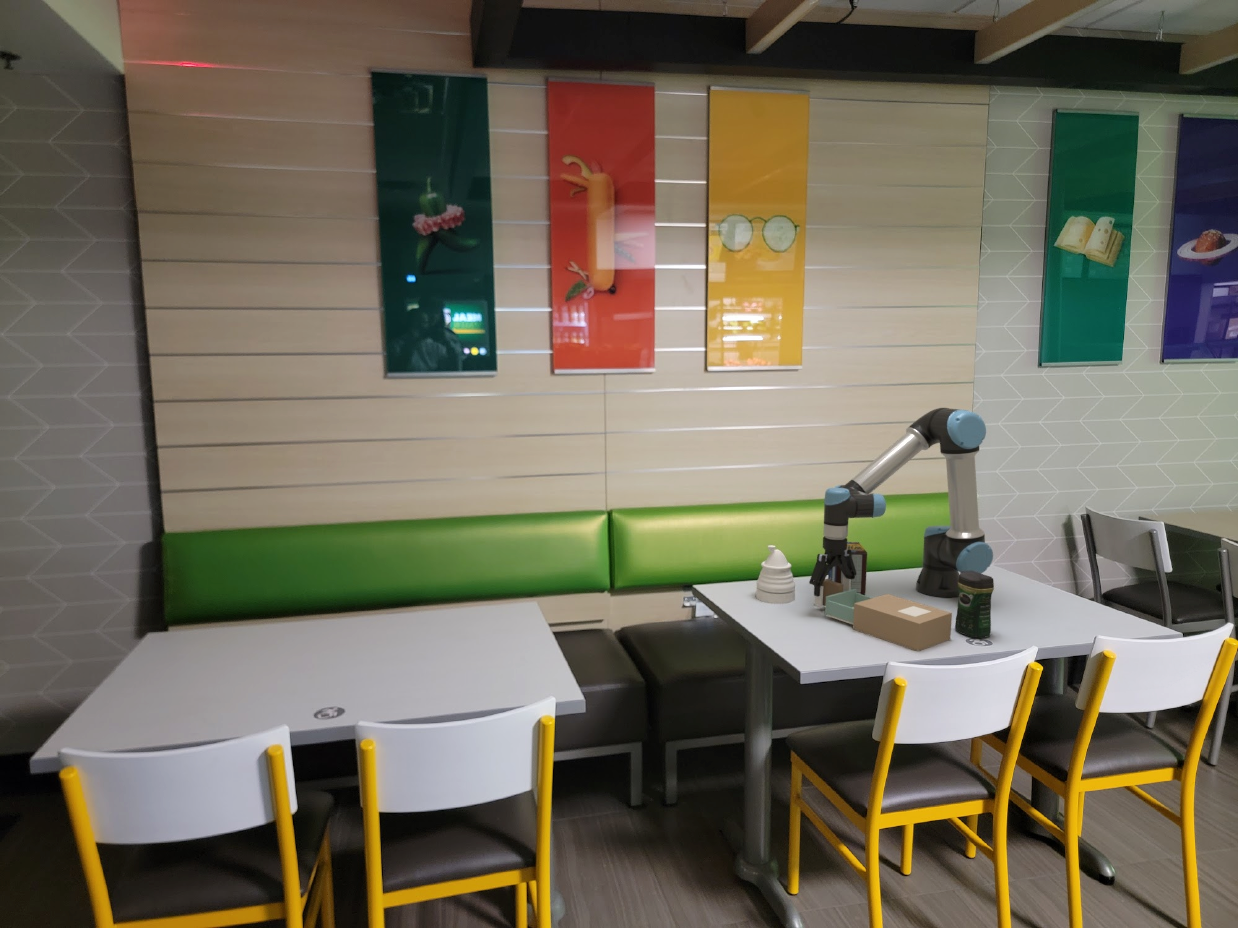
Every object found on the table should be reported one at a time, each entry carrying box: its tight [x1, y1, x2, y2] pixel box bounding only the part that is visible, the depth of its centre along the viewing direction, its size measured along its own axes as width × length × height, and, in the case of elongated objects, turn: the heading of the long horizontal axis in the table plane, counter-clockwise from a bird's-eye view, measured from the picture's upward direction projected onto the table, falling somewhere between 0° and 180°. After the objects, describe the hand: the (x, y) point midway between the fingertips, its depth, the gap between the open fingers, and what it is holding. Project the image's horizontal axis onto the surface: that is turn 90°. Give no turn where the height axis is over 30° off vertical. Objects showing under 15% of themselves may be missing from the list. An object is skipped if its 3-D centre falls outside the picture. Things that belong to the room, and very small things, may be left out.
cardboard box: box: [852, 593, 953, 652], centre depth 238 cm, size 16×22×8 cm
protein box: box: [827, 541, 868, 596], centre depth 282 cm, size 10×15×16 cm
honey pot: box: [755, 544, 796, 605], centre depth 272 cm, size 13×13×18 cm
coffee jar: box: [954, 570, 995, 639], centre depth 239 cm, size 10×8×19 cm
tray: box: [821, 578, 873, 625], centre depth 251 cm, size 14×28×8 cm, turn 36°
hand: (832, 601), depth 259 cm, fingers open, 13 cm apart
